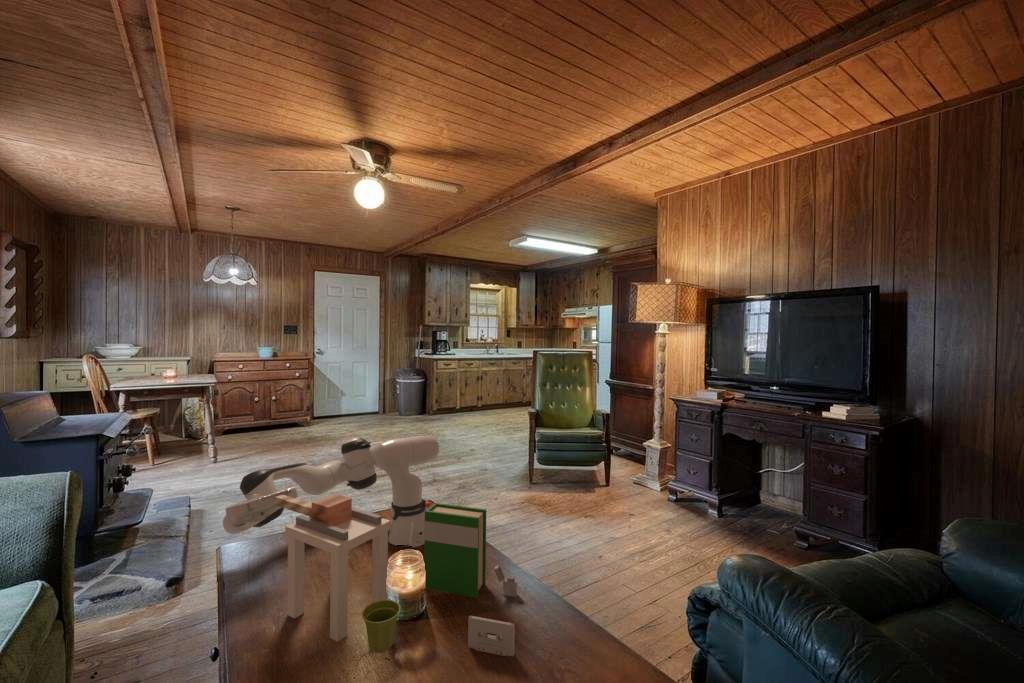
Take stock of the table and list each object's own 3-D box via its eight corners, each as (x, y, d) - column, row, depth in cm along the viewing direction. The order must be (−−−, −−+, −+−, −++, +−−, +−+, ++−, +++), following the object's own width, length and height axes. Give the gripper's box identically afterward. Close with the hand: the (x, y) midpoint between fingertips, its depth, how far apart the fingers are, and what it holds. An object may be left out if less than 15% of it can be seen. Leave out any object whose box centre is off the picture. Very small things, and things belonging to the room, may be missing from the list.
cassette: (467, 649, 111) (467, 618, 111) (469, 644, 113) (470, 614, 113) (513, 658, 108) (513, 627, 108) (515, 653, 110) (515, 622, 110)
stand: (284, 615, 123) (285, 519, 123) (338, 584, 139) (339, 499, 139) (337, 643, 112) (338, 537, 112) (389, 606, 128) (390, 513, 128)
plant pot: (363, 662, 106) (363, 626, 106) (360, 637, 115) (360, 604, 115) (403, 651, 110) (403, 616, 110) (397, 628, 118) (397, 596, 118)
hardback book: (485, 585, 140) (486, 509, 139) (477, 598, 133) (478, 518, 132) (434, 575, 145) (435, 502, 144) (424, 588, 138) (424, 511, 137)
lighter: (517, 594, 135) (517, 568, 135) (515, 597, 133) (516, 571, 133) (495, 590, 137) (495, 564, 137) (493, 593, 135) (493, 567, 135)
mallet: (265, 507, 136) (266, 488, 136) (290, 499, 143) (290, 481, 143) (327, 529, 122) (327, 507, 121) (351, 518, 128) (351, 498, 128)
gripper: (287, 508, 154) (309, 494, 148) (225, 530, 136) (247, 516, 130) (282, 490, 155) (303, 477, 149) (219, 510, 138) (241, 495, 132)
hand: (276, 495), depth 140 cm, fingers open, 8 cm apart
